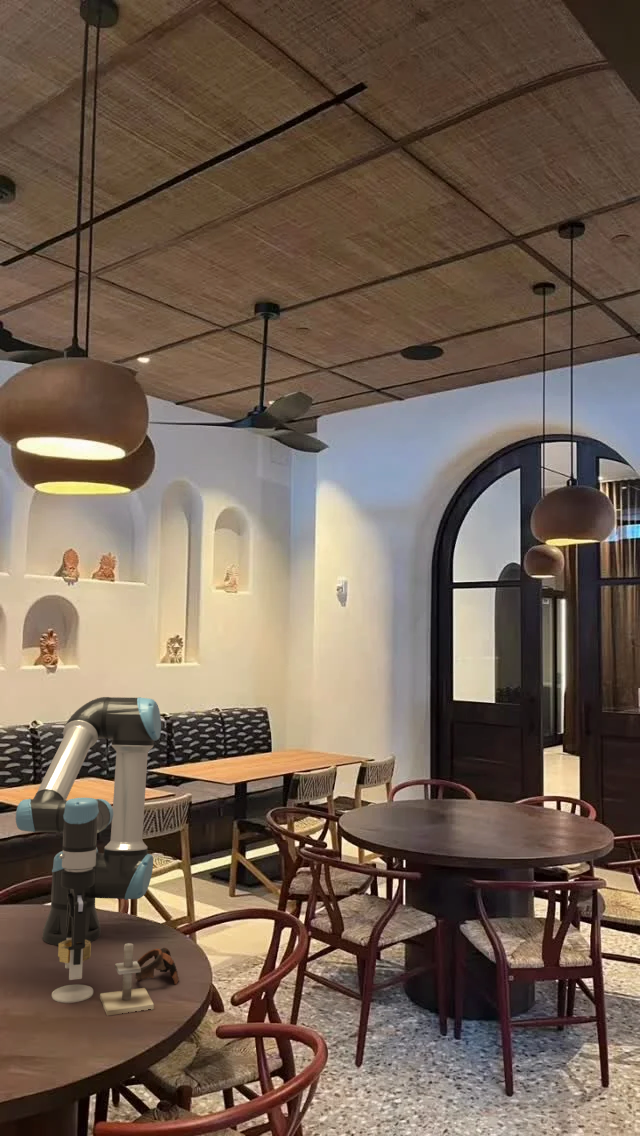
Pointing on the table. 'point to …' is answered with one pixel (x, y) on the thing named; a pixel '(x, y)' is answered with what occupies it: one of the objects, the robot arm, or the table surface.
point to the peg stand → (126, 989)
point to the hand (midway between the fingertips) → (73, 972)
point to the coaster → (72, 993)
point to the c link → (65, 953)
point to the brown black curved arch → (157, 964)
